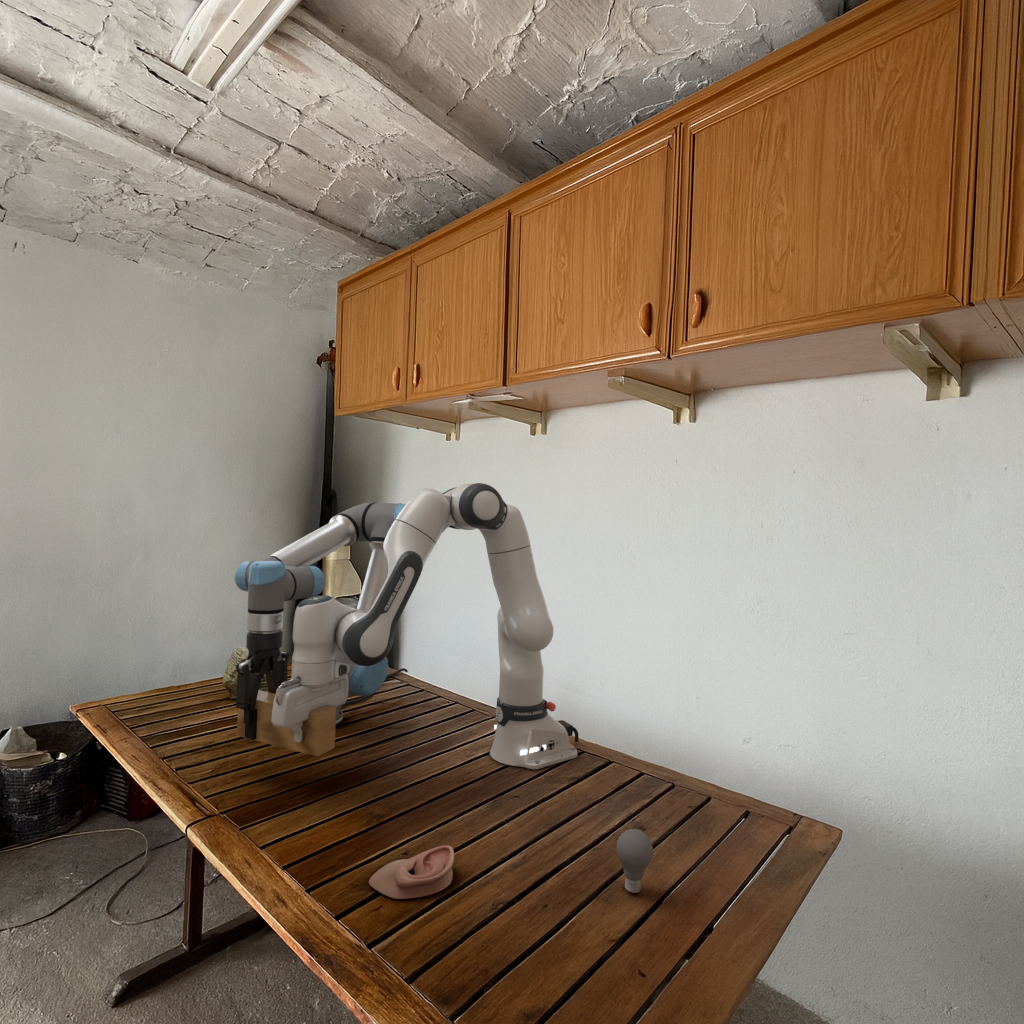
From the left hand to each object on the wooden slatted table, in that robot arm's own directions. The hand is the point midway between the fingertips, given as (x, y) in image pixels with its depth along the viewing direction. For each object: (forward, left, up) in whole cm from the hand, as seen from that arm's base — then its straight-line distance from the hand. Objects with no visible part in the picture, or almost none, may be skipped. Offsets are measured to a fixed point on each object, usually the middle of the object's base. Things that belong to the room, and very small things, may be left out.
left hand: (261, 733), depth 142 cm
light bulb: (-19, +83, -10) cm, 86 cm away
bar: (-2, +7, -1) cm, 7 cm away
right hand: (-4, +14, +2) cm, 14 cm away
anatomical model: (+3, +54, -10) cm, 55 cm away
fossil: (-29, -54, -10) cm, 61 cm away
